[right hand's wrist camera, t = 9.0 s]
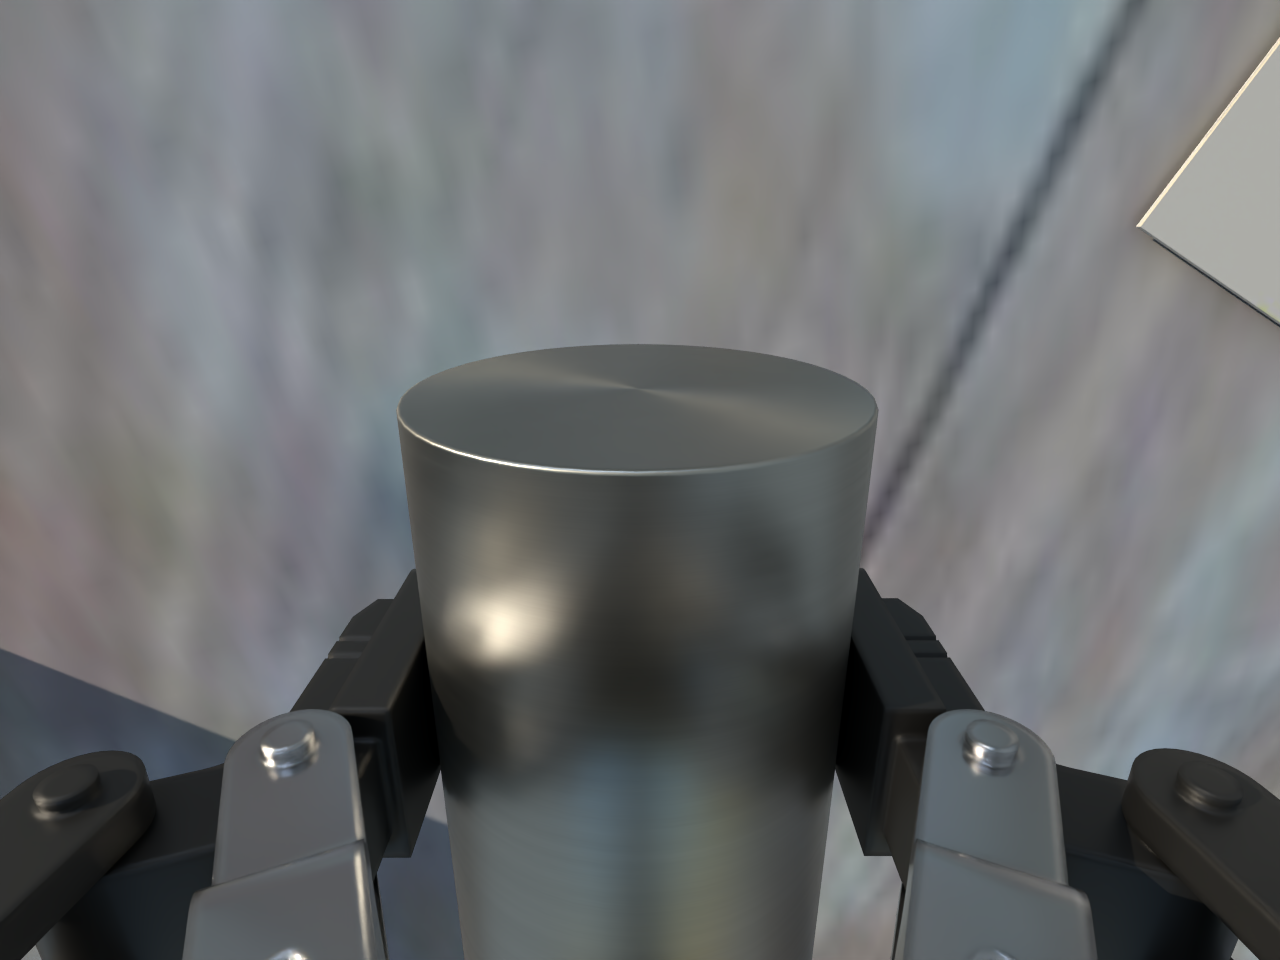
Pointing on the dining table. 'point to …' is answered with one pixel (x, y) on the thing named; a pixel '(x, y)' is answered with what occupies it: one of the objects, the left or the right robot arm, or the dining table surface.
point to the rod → (637, 641)
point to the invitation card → (1232, 196)
